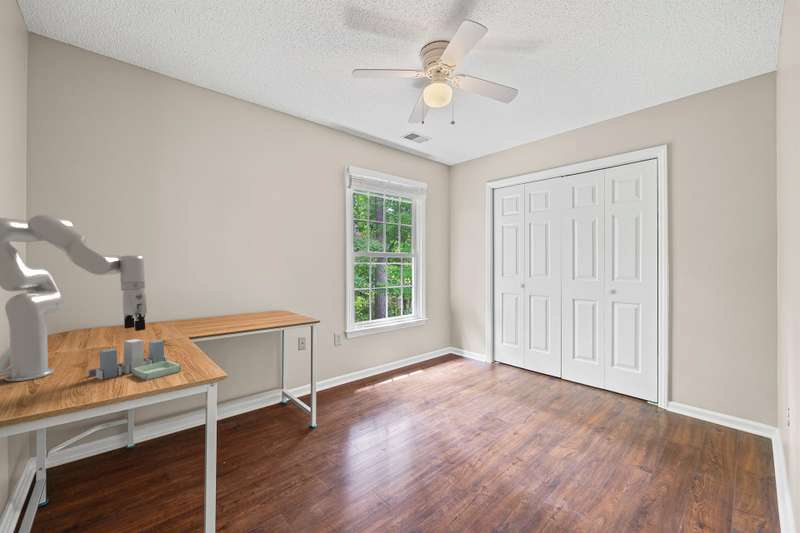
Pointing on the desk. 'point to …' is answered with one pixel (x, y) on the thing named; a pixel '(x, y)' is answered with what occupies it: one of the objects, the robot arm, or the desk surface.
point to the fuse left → (108, 362)
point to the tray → (156, 370)
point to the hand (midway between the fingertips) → (134, 329)
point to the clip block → (118, 368)
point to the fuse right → (156, 351)
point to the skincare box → (133, 353)
